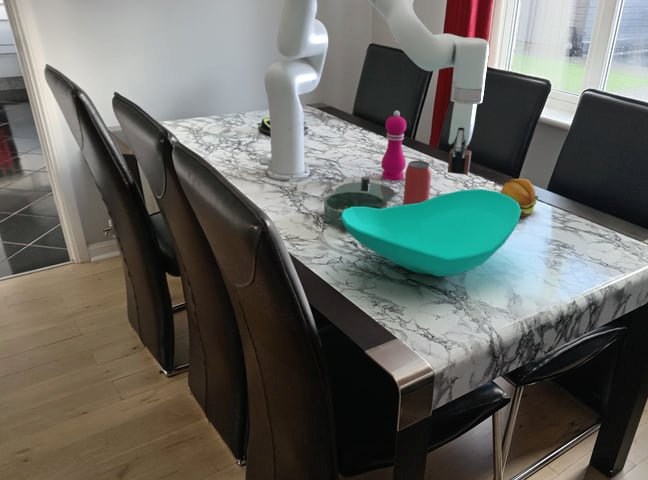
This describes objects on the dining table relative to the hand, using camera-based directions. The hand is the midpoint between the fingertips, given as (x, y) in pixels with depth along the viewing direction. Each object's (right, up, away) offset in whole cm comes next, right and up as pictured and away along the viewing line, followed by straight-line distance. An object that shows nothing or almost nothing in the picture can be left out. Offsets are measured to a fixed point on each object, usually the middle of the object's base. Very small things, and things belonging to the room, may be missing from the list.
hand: (458, 169), depth 145 cm
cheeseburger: (+16, -10, +9) cm, 21 cm away
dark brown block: (0, -1, 0) cm, 1 cm away
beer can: (-10, -9, +8) cm, 16 cm away
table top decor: (-9, -26, -22) cm, 35 cm away
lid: (-24, -4, +13) cm, 28 cm away
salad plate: (-56, +27, +67) cm, 92 cm away
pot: (-26, -13, -1) cm, 29 cm away
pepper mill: (-16, +3, +28) cm, 32 cm away
